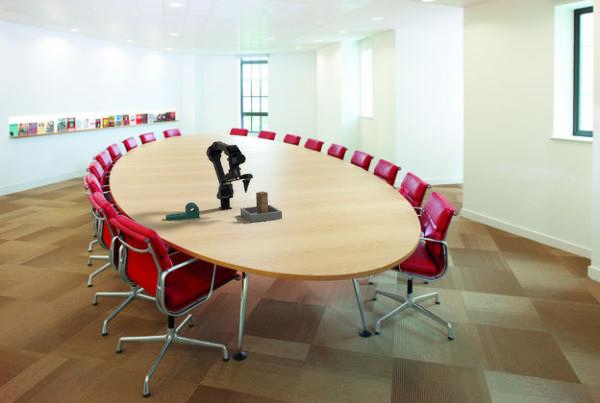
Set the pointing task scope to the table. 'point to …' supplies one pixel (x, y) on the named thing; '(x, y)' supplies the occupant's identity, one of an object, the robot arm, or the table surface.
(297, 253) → the table surface
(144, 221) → the table surface
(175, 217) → the bracket
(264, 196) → the brown tall block
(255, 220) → the box
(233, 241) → the table surface
